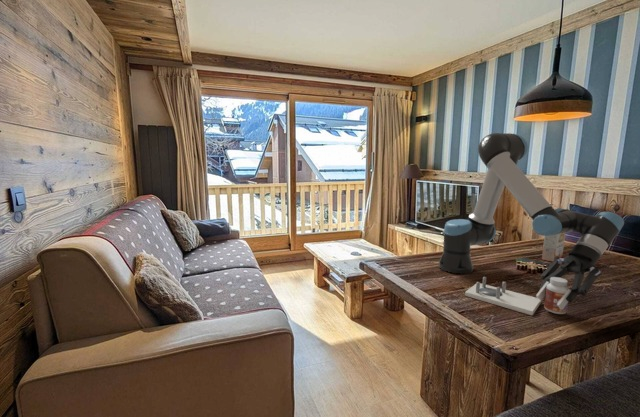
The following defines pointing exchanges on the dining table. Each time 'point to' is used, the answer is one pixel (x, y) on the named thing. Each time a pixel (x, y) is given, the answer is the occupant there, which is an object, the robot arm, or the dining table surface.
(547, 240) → the cracker box
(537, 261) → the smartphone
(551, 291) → the pill bottle
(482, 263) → the dining table surface
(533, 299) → the pin tray
